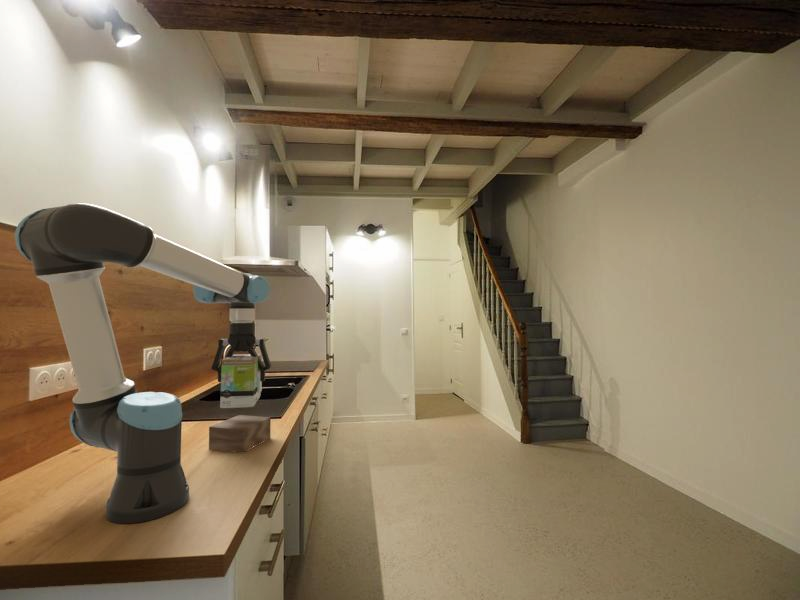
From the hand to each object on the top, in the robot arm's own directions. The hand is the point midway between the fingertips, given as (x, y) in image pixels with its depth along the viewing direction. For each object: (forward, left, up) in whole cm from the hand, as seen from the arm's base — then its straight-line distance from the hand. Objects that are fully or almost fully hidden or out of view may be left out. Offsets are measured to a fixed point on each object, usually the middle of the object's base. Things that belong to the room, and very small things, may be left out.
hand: (241, 392), depth 125 cm
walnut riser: (0, 0, -16) cm, 16 cm away
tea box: (0, 0, -3) cm, 3 cm away
